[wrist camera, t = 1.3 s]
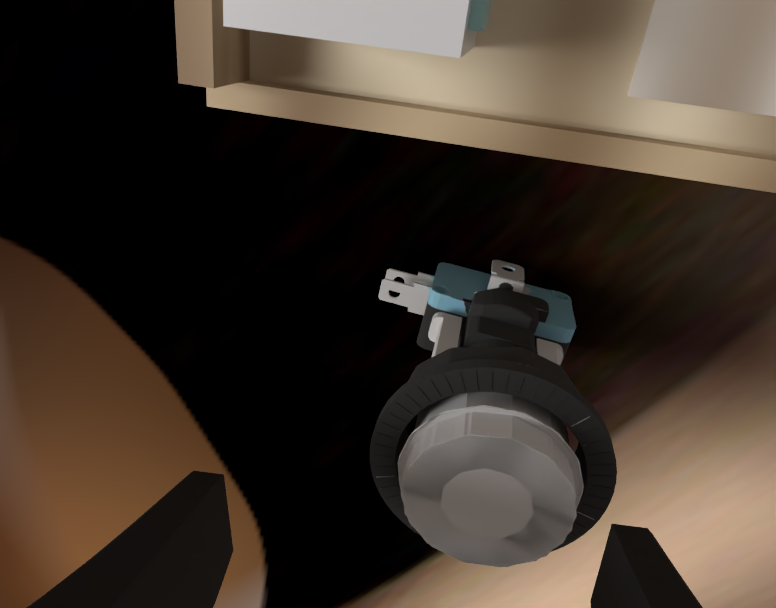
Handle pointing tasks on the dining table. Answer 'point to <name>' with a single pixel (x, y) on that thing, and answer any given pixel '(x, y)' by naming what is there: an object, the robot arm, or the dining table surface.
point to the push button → (491, 421)
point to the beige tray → (529, 83)
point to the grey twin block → (369, 22)
